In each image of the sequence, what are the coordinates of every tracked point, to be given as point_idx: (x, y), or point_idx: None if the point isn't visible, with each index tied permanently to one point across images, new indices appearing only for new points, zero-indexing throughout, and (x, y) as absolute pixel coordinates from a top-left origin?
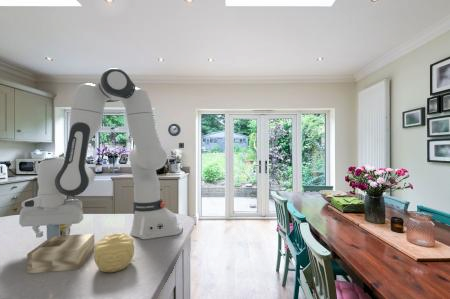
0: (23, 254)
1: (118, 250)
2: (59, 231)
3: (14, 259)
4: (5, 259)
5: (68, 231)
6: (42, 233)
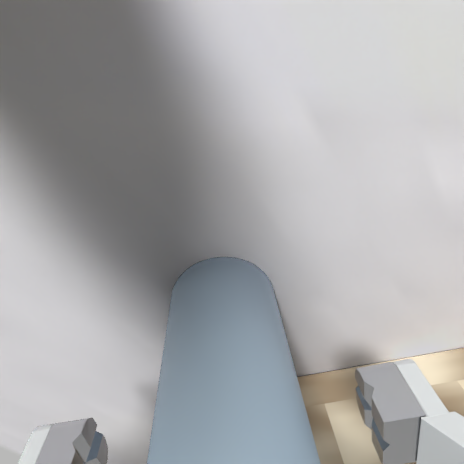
0: (79, 404)
1: None
2: (311, 431)
3: None
4: None
5: (431, 392)
6: (79, 456)
